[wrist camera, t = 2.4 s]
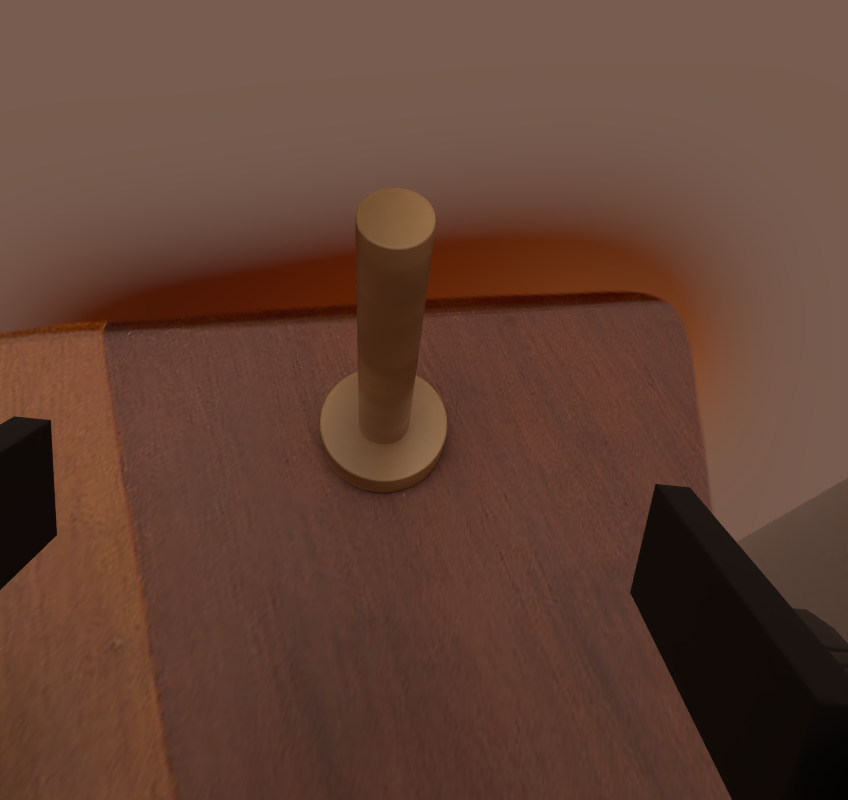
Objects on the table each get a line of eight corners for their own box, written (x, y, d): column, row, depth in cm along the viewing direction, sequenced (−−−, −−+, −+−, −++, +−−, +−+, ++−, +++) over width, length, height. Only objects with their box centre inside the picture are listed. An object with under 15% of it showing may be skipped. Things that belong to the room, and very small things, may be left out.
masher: (448, 388, 33) (501, 154, 20) (439, 499, 31) (493, 314, 18) (331, 374, 33) (309, 131, 20) (312, 486, 30) (274, 288, 18)
